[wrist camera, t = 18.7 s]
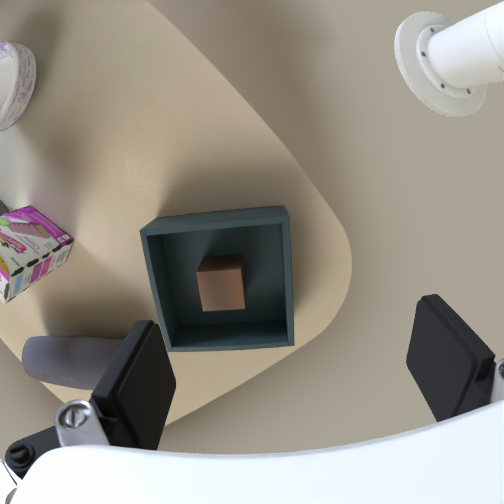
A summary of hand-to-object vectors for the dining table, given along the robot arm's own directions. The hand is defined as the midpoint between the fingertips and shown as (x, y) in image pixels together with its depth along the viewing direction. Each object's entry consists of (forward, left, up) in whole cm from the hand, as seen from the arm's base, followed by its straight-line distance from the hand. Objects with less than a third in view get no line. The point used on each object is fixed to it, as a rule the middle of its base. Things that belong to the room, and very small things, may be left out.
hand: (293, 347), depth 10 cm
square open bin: (+6, +10, -32) cm, 34 cm away
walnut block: (+6, +10, -31) cm, 33 cm away
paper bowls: (+39, -25, -32) cm, 57 cm away
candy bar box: (+35, +1, -32) cm, 48 cm away
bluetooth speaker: (+33, +23, -32) cm, 52 cm away
